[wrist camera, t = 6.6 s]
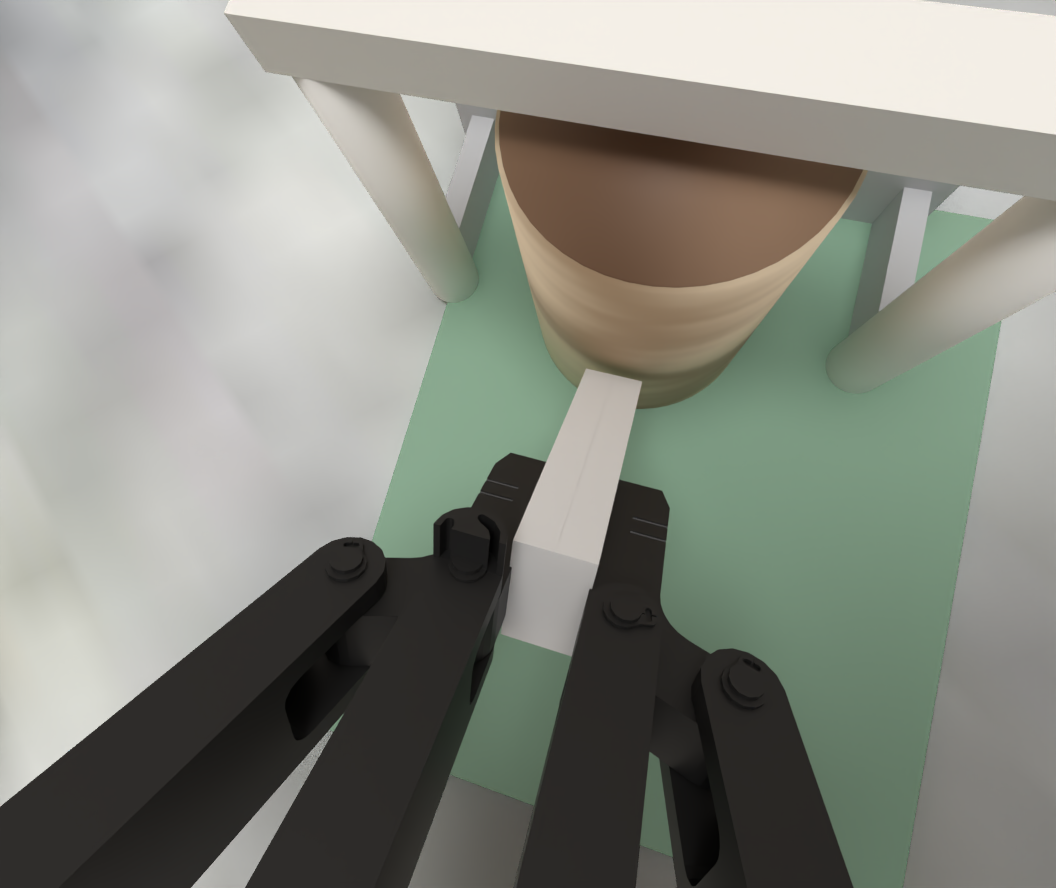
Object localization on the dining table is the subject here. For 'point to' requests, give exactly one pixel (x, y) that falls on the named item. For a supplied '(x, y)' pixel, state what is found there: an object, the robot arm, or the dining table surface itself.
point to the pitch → (738, 523)
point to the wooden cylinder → (657, 245)
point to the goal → (713, 124)
